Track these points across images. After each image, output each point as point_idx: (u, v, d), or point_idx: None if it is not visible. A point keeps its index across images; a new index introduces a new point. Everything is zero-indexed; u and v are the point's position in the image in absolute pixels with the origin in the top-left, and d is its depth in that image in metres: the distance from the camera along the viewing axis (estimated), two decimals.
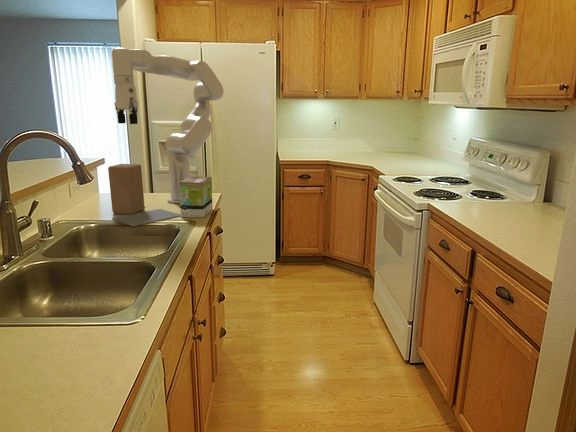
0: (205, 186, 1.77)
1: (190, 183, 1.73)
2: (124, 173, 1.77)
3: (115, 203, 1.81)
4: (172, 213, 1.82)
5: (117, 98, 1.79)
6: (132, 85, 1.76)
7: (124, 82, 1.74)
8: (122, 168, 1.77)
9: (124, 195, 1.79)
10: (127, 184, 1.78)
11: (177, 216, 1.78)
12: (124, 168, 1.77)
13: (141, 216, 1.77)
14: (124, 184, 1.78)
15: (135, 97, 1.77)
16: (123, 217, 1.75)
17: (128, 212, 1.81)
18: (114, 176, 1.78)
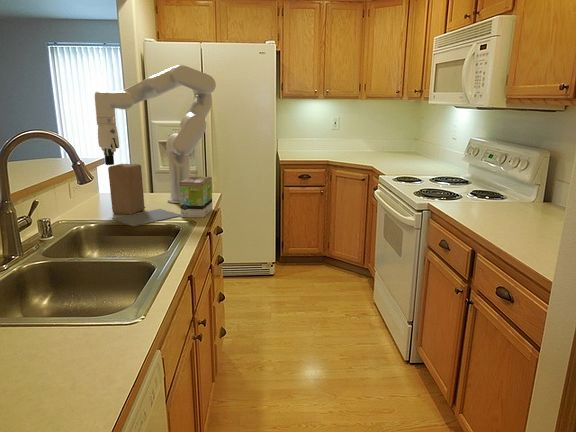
0: (205, 186, 1.77)
1: (190, 183, 1.73)
2: (124, 173, 1.77)
3: (115, 203, 1.81)
4: (172, 213, 1.82)
5: (99, 138, 1.86)
6: (114, 126, 1.83)
7: (106, 123, 1.82)
8: (122, 168, 1.77)
9: (124, 195, 1.79)
10: (127, 184, 1.78)
11: (177, 216, 1.78)
12: (124, 168, 1.77)
13: (141, 216, 1.77)
14: (124, 184, 1.78)
15: (117, 137, 1.84)
16: (123, 217, 1.75)
17: (128, 212, 1.81)
18: (114, 176, 1.78)
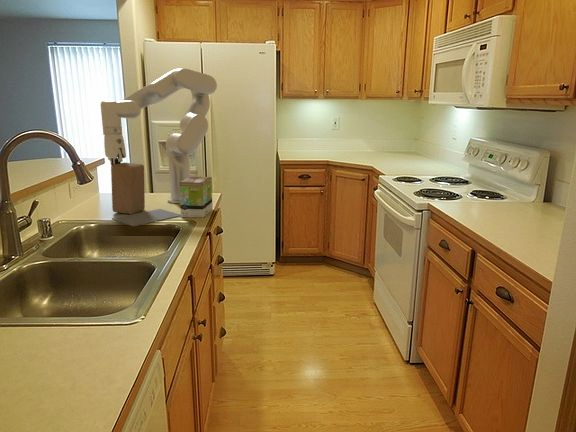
0: (205, 186, 1.77)
1: (190, 183, 1.73)
2: (127, 173, 1.77)
3: (116, 202, 1.81)
4: (172, 213, 1.82)
5: (106, 147, 1.84)
6: (120, 136, 1.81)
7: (112, 133, 1.80)
8: (125, 168, 1.76)
9: (125, 194, 1.79)
10: (129, 184, 1.78)
11: (177, 216, 1.78)
12: (127, 168, 1.76)
13: (141, 216, 1.77)
14: (126, 183, 1.78)
15: (123, 147, 1.82)
16: (123, 217, 1.75)
17: (128, 212, 1.81)
18: (117, 175, 1.78)
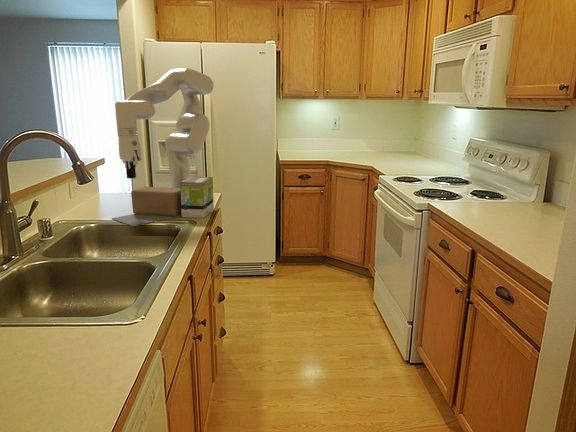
0: (206, 186, 1.77)
1: (191, 183, 1.73)
2: (169, 210, 1.76)
3: (140, 196, 1.78)
4: None
5: (120, 150, 1.76)
6: (136, 138, 1.73)
7: (128, 135, 1.72)
8: (174, 209, 1.76)
9: (149, 207, 1.78)
10: (159, 212, 1.77)
11: (177, 216, 1.78)
12: (174, 211, 1.76)
13: (141, 216, 1.77)
14: (159, 209, 1.77)
15: (139, 149, 1.75)
16: (123, 217, 1.75)
17: (133, 209, 1.80)
18: (166, 200, 1.75)
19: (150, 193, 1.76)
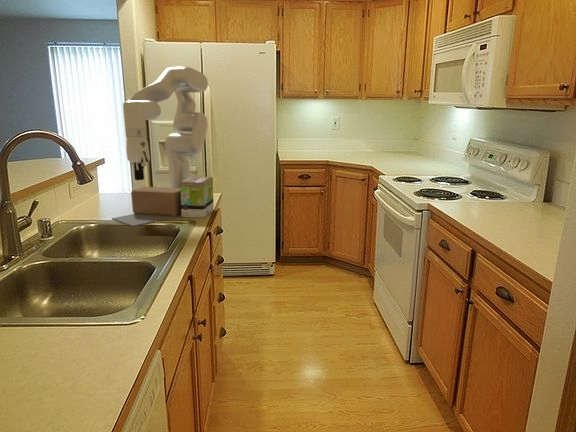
0: (206, 186, 1.77)
1: (191, 183, 1.73)
2: (169, 210, 1.76)
3: (140, 196, 1.78)
4: None
5: (128, 151, 1.72)
6: (144, 138, 1.69)
7: (136, 136, 1.68)
8: (174, 209, 1.76)
9: (149, 207, 1.78)
10: (159, 212, 1.77)
11: (177, 216, 1.78)
12: (174, 211, 1.76)
13: (141, 216, 1.77)
14: (159, 209, 1.77)
15: (147, 151, 1.71)
16: (123, 217, 1.75)
17: (133, 209, 1.80)
18: (166, 200, 1.75)
19: (150, 193, 1.76)
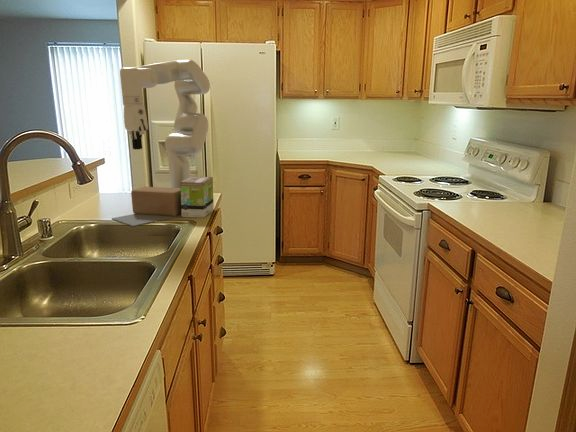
0: (206, 186, 1.77)
1: (191, 183, 1.73)
2: (169, 210, 1.76)
3: (140, 196, 1.78)
4: None
5: (126, 119, 1.70)
6: (142, 106, 1.66)
7: (133, 103, 1.65)
8: (174, 209, 1.76)
9: (149, 207, 1.78)
10: (159, 212, 1.77)
11: (177, 216, 1.78)
12: (174, 211, 1.76)
13: (141, 216, 1.77)
14: (159, 209, 1.77)
15: (145, 119, 1.68)
16: (123, 217, 1.75)
17: (133, 209, 1.80)
18: (166, 200, 1.75)
19: (150, 193, 1.76)
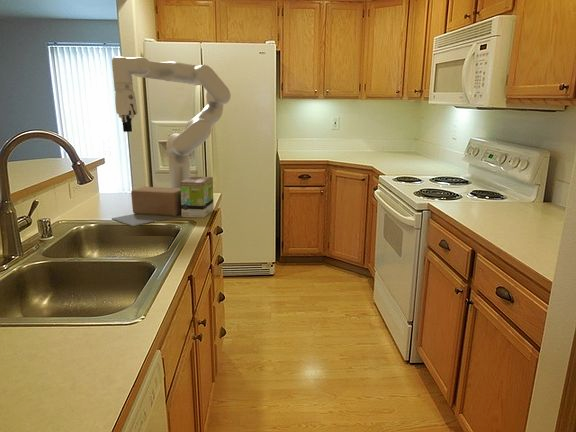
0: (206, 186, 1.77)
1: (191, 183, 1.73)
2: (169, 210, 1.76)
3: (140, 196, 1.78)
4: None
5: (117, 104, 1.87)
6: (132, 92, 1.84)
7: (124, 89, 1.82)
8: (174, 209, 1.76)
9: (149, 207, 1.78)
10: (159, 212, 1.77)
11: (177, 216, 1.78)
12: (174, 211, 1.76)
13: (141, 216, 1.77)
14: (159, 209, 1.77)
15: (135, 103, 1.85)
16: (123, 217, 1.75)
17: (133, 209, 1.80)
18: (166, 200, 1.75)
19: (150, 193, 1.76)
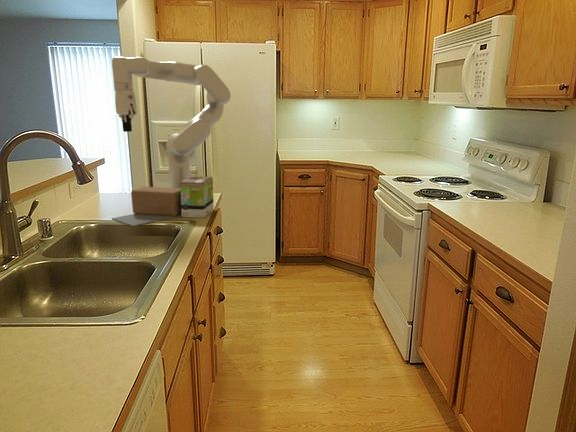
0: (206, 186, 1.77)
1: (191, 183, 1.73)
2: (169, 210, 1.76)
3: (140, 196, 1.78)
4: None
5: (117, 104, 1.87)
6: (131, 92, 1.84)
7: (124, 89, 1.83)
8: (174, 209, 1.76)
9: (149, 207, 1.78)
10: (159, 212, 1.77)
11: (177, 216, 1.78)
12: (174, 211, 1.76)
13: (141, 216, 1.77)
14: (159, 209, 1.77)
15: (134, 103, 1.86)
16: (123, 217, 1.75)
17: (133, 209, 1.80)
18: (166, 200, 1.75)
19: (150, 193, 1.76)
